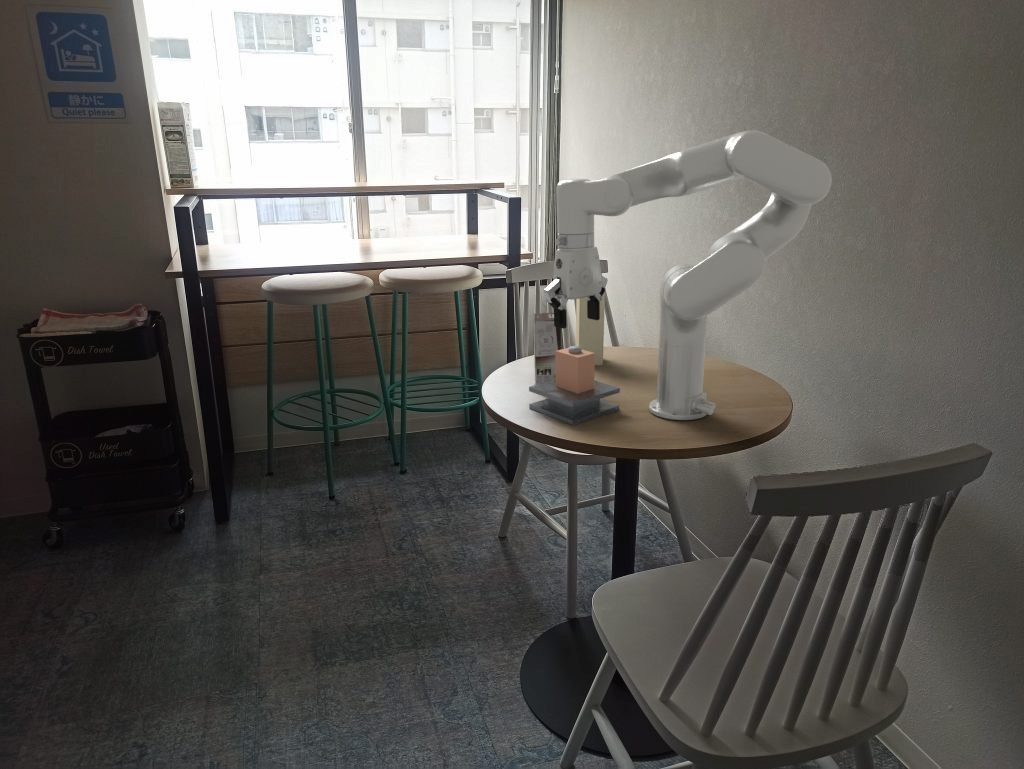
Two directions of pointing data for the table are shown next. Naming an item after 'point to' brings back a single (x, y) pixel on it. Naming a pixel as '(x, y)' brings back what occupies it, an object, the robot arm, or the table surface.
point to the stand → (574, 402)
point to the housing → (574, 369)
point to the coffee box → (545, 346)
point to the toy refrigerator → (590, 329)
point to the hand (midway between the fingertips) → (577, 323)
